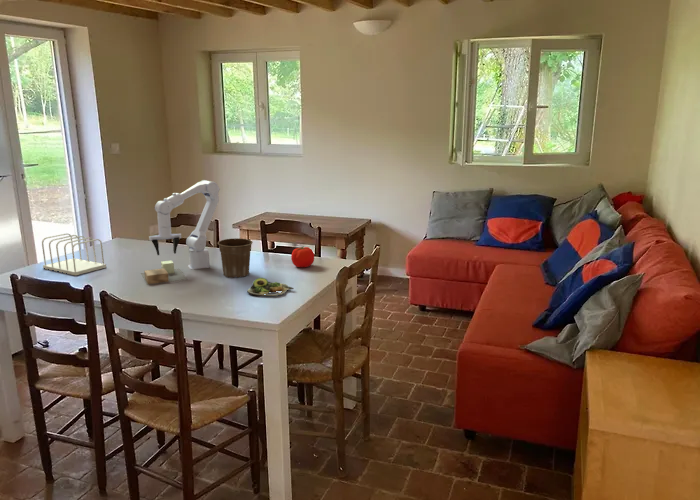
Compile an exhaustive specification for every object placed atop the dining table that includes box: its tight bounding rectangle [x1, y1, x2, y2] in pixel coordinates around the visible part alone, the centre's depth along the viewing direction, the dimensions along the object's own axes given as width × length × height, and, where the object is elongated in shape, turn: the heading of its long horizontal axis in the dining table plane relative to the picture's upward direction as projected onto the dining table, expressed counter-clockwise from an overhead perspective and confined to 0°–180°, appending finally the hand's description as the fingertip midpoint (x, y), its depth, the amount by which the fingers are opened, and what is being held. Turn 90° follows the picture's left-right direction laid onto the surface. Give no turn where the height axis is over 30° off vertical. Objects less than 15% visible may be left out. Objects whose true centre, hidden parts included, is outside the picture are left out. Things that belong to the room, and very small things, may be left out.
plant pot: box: [217, 237, 253, 279], centre depth 265 cm, size 16×16×16 cm
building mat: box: [140, 268, 188, 285], centre depth 262 cm, size 18×20×1 cm
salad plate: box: [246, 277, 295, 297], centre depth 243 cm, size 19×18×5 cm
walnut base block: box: [143, 268, 170, 285], centre depth 255 cm, size 9×9×4 cm
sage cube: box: [160, 260, 175, 274], centre depth 268 cm, size 5×5×5 cm
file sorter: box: [41, 232, 107, 276], centre depth 274 cm, size 25×17×16 cm
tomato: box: [290, 245, 315, 268], centre depth 280 cm, size 12×12×10 cm
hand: (166, 254), depth 266 cm, fingers open, 7 cm apart
